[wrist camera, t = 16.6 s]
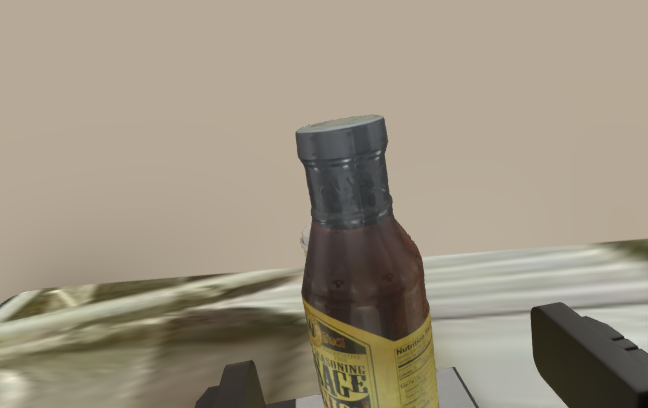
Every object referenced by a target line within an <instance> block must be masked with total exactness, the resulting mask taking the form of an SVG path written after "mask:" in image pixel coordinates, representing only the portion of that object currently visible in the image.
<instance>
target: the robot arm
mask: <svg viewBox="0 0 648 408" xmlns="http://www.w3.org/2000/svg"><path fill="white" fill-rule="evenodd" d="M531 330H532V346H533V357H534V361H535V364H536V367H537V369H538V371H539V373H540V375H541V376H542V378H543V379H544V380H545V381H546V382H547V384H548V385H549V386H550V387H551V388H552V389H553V390H554V392H555V393H556V394H557V395H558V396H559V397H560V398H561V399H562V401H563V402H564V403H565V404H566V405H567V406H568V407H569V408H648V353H647V352H645V351H644V350H642V349H639V348H638V346H637V345H635V344H634V343H633V342H631V341H630V340H628V339H625V338H624V336H623V335H621V334H620V333H619V332H617V331H616V330H614V329H613V328H612V327H610V326H609V325H607V324H605V323H602V322H600V321H597V320H595V319H592V318H590V317H587V316H585V317H581V316H580V315H578V314H577V313H576V312H574V311H573V310H572V309H570V308H569V307H568V306H566V305H565V304H564V303H561V302H558V303H553V304H548V305H542V306H537V307H533V308H532V310H531ZM195 408H266V406H265V402H264V398H263V394H262V390H261V386H260V382H259V378H258V374H257V370H256V367H255V364H254V362H253V361H252V360H250V361H245V362H240V363H235V364H230V365H226V366H225V368H224V372H223V375H222V378H221V382H220V385H219V386H214V387H209V388H208V389H207V390H206V392H205V393H204V394H203V395H202V396H201V398H200V399H199V400H198V401H197V402H196V405H195Z"/></svg>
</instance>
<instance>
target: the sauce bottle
mask: <svg viewBox="0 0 648 408" xmlns="http://www.w3.org/2000/svg"><path fill="white" fill-rule="evenodd" d="M296 142H297V152H298V157H299V159H300V160H301V162H302V163H303V165H304V167H305V171H306V178H307V185H308V189H309V195H310V200H311V206H312V208H311V216H312V223H311V230H310V236H309V243H308V250H307V257H306V264H305V270H304V277H303V284H302V291H301V293H302V300H303V304H304V309H305V314H306V319H307V324H308V329H309V334H310V342H311V345H312V351H313V356H314V362H315V367H316V371H317V374H318V380H319V386H320V391H321V394H322V399H323V404H324V408H440V407H439V397H438V388H437V378H436V368H435V358H434V348H433V337H432V327H431V318H430V308H429V303H428V301H427V299H426V290H425V283H424V269H423V261H422V258H421V255H420V253H419V250H418V248H417V246H416V244H415V243H414V241H412V240H411V237H410V236H409V235H408V234H407V233H406V231H405V230H404V229H403V228H402V226H400V224H399V223H398V222H397V221H396V220H395V218H394V215H393V209H392V197H391V195H390V194H389V187H388V177H387V169H386V161H385V155H384V154H385V151H386V147H387V143H388V139H387V132H386V126H385V120H384V117H383V116H380V115H368V116H367V115H366V116H356V117H349V118H344V119H337V120H330V121H325V122H321V123H316V124H312V125H307V126H305V127H302V128H300V129H298V130H297V131H296Z"/></svg>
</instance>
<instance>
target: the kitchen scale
mask: <svg viewBox="0 0 648 408" xmlns="http://www.w3.org/2000/svg"><path fill="white" fill-rule="evenodd" d="M436 378H437V388H438V397H439V407H440V408H479V407H478V405H477V404H476V402H475V400H474V399H473V397H472V395H471V394H470V392H469V390H468V389H467V387H466V385H465V383H464V382H463V380H462V378H461V377H460V375H459V373H458V372H457V370H456V368H455V367H451V368H446V369H441V370H436ZM265 406H266V408H324V404H323V399H322V394H318V395H313V396H308V397H303V398H298V399H293V400H288V401H283V402H278V403H273V404H268V405H265Z"/></svg>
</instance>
